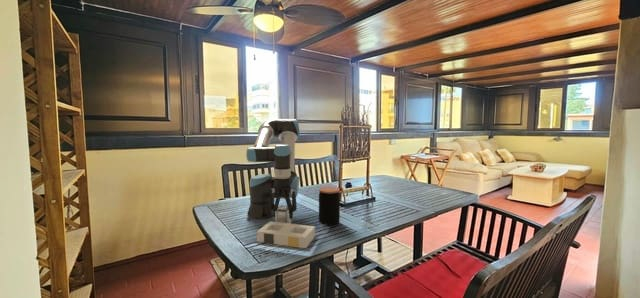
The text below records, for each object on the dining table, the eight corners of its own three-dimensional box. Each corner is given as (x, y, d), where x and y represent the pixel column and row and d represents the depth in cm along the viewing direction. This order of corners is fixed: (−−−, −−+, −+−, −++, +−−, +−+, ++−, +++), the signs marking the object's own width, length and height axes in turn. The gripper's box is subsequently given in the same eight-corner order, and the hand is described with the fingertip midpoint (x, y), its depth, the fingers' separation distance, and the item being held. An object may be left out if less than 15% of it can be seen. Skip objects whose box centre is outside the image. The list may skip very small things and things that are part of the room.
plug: (277, 227, 132) (277, 207, 131) (281, 224, 136) (281, 205, 135) (285, 228, 131) (285, 208, 130) (289, 225, 135) (288, 205, 134)
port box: (257, 245, 117) (256, 231, 117) (270, 233, 129) (270, 221, 128) (305, 252, 111) (305, 237, 110) (315, 239, 123) (315, 226, 122)
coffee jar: (327, 217, 150) (327, 185, 148) (343, 222, 143) (343, 188, 141) (314, 223, 142) (314, 189, 140) (331, 228, 135) (331, 192, 133)
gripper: (261, 177, 130) (262, 225, 132) (298, 180, 125) (298, 229, 127) (268, 174, 137) (269, 219, 140) (303, 176, 132) (304, 223, 134)
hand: (283, 224), depth 133 cm, fingers open, 6 cm apart
